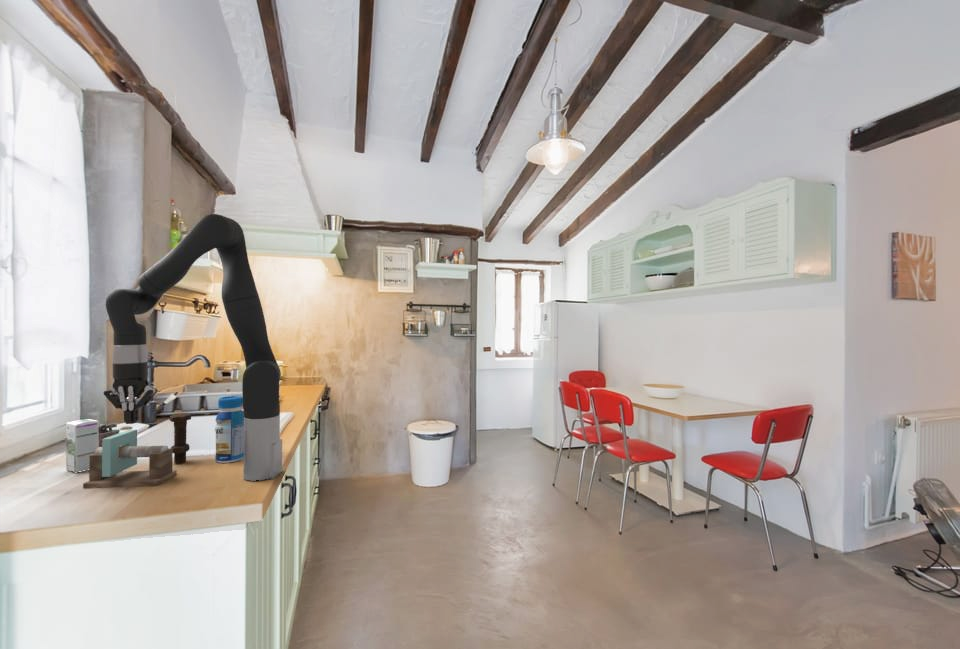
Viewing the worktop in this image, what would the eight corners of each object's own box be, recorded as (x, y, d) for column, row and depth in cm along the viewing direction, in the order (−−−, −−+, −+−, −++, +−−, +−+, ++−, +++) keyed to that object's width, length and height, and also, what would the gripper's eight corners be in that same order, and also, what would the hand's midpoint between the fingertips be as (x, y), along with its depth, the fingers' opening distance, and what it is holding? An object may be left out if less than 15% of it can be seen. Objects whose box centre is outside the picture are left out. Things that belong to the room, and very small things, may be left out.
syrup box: (99, 467, 127) (100, 419, 127) (74, 474, 122) (74, 424, 122) (90, 465, 129) (90, 418, 129) (64, 471, 124) (65, 422, 124)
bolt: (178, 466, 129) (178, 417, 129) (164, 465, 130) (165, 416, 130) (194, 460, 134) (195, 413, 135) (181, 459, 136) (182, 412, 136)
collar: (136, 464, 122) (137, 429, 122) (110, 476, 112) (110, 438, 112) (129, 464, 121) (129, 429, 121) (102, 476, 111) (102, 439, 111)
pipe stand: (176, 474, 122) (176, 440, 122) (156, 485, 113) (156, 450, 113) (109, 475, 120) (109, 442, 120) (83, 488, 111) (83, 451, 111)
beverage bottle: (246, 460, 134) (246, 398, 134) (214, 465, 130) (215, 400, 130) (244, 454, 141) (244, 394, 141) (214, 458, 137) (215, 396, 137)
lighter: (89, 458, 136) (90, 427, 136) (86, 456, 137) (86, 426, 137) (121, 452, 142) (121, 422, 143) (117, 450, 144) (117, 421, 144)
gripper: (164, 359, 121) (165, 419, 121) (115, 360, 120) (115, 421, 120) (146, 362, 114) (147, 425, 114) (93, 362, 113) (94, 427, 113)
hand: (131, 423), depth 117 cm, fingers closed
